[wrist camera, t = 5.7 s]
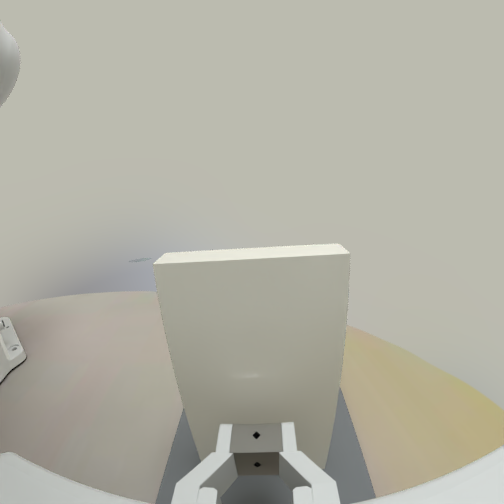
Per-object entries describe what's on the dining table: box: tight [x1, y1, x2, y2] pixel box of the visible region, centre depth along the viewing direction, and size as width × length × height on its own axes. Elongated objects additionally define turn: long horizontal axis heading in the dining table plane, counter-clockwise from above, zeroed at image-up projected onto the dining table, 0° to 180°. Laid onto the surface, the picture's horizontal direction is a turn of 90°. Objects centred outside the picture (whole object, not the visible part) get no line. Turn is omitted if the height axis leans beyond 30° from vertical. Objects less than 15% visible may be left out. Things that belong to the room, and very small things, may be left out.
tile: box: [153, 244, 350, 469], centre depth 12 cm, size 2×7×13 cm, turn 89°
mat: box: [155, 387, 376, 504], centre depth 18 cm, size 19×12×1 cm, turn 179°
